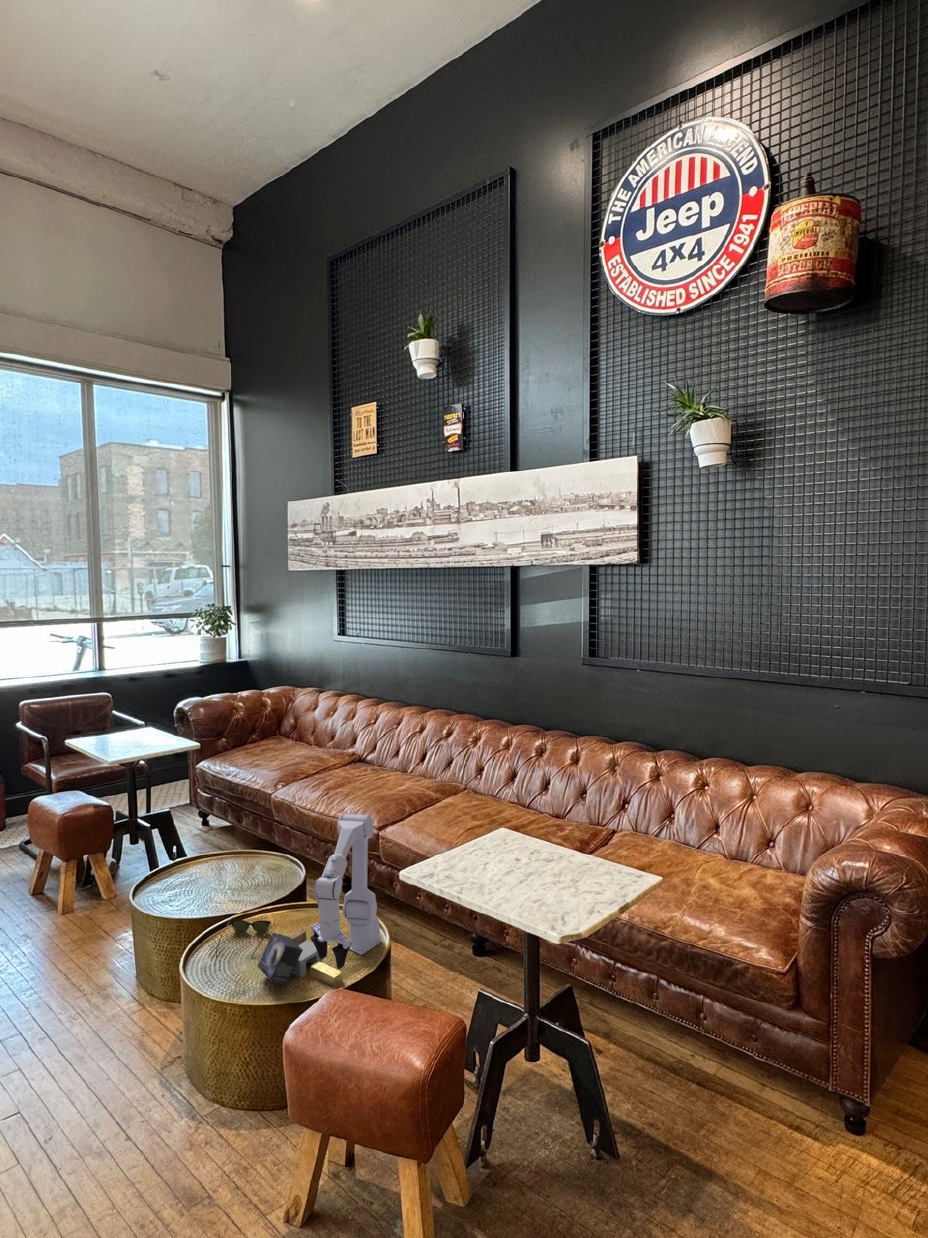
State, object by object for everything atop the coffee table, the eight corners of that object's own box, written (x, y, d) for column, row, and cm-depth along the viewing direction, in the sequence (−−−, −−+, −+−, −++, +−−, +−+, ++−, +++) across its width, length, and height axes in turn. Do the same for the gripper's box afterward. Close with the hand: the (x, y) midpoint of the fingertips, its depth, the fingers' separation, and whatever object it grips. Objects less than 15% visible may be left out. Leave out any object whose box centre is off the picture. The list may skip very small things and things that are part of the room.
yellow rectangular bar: (318, 970, 222) (318, 961, 222) (342, 981, 216) (341, 971, 216) (310, 976, 219) (310, 966, 219) (334, 987, 214) (334, 977, 213)
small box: (255, 965, 219) (271, 931, 222) (273, 970, 222) (289, 936, 225) (269, 980, 210) (286, 944, 213) (287, 985, 214) (304, 950, 217)
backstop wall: (302, 946, 234) (301, 929, 233) (306, 949, 233) (305, 931, 232) (269, 967, 224) (268, 948, 223) (273, 969, 223) (272, 951, 222)
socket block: (307, 955, 229) (306, 940, 229) (322, 963, 225) (321, 948, 224) (286, 969, 223) (285, 953, 222) (301, 977, 218) (300, 961, 218)
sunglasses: (272, 933, 243) (271, 920, 242) (256, 964, 228) (254, 950, 227) (231, 932, 244) (229, 919, 243) (211, 962, 230) (210, 948, 229)
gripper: (301, 916, 209) (304, 960, 211) (336, 933, 200) (338, 979, 202) (321, 905, 214) (323, 948, 216) (355, 921, 205) (357, 966, 207)
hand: (331, 962), depth 209 cm, fingers open, 7 cm apart
